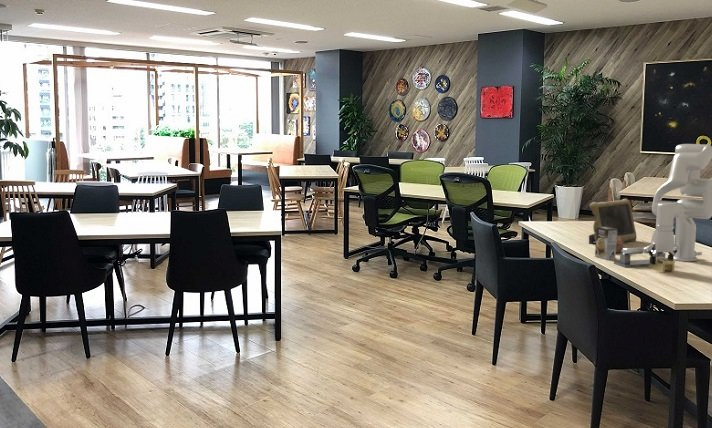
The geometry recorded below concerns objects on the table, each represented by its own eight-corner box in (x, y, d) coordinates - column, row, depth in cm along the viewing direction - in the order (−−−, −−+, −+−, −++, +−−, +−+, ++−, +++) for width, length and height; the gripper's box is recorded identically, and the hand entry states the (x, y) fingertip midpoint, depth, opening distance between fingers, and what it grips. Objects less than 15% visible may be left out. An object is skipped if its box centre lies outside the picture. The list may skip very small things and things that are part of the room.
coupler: (648, 268, 323) (649, 256, 322) (659, 267, 324) (660, 255, 323) (662, 272, 313) (663, 260, 312) (674, 272, 315) (674, 260, 314)
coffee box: (594, 256, 350) (596, 226, 347) (604, 255, 352) (606, 226, 349) (605, 260, 341) (607, 229, 339) (616, 259, 343) (617, 228, 341)
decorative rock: (602, 248, 371) (603, 231, 370) (623, 250, 367) (624, 232, 366) (601, 253, 359) (602, 235, 358) (623, 254, 355) (624, 236, 354)
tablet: (606, 247, 375) (608, 203, 371) (585, 243, 386) (587, 201, 382) (638, 241, 394) (640, 199, 390) (617, 238, 405) (619, 197, 402)
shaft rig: (658, 261, 338) (659, 245, 337) (670, 265, 330) (671, 248, 328) (613, 263, 333) (614, 247, 331) (624, 267, 324) (626, 250, 323)
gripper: (674, 227, 321) (671, 261, 324) (643, 227, 317) (640, 262, 320) (685, 229, 314) (682, 264, 316) (653, 230, 310) (650, 265, 312)
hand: (661, 263), depth 318 cm, fingers open, 9 cm apart
